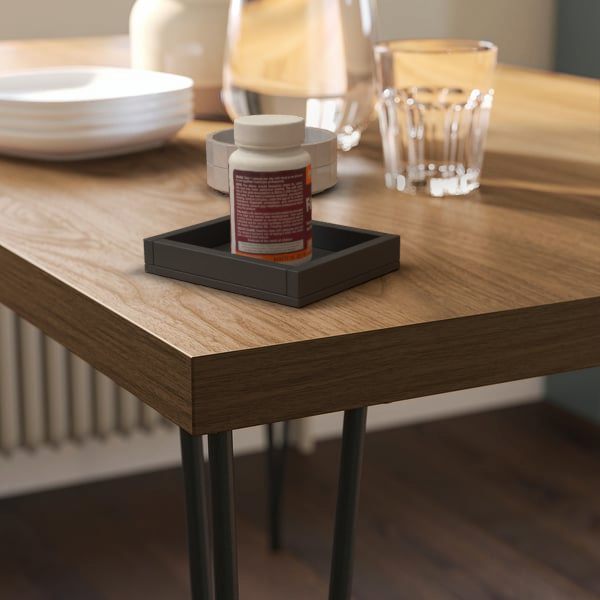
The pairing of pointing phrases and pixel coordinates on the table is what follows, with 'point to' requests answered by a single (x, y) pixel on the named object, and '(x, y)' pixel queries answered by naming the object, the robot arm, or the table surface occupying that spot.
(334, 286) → the tray
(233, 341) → the table surface
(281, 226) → the pill bottle
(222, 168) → the gray bowl
